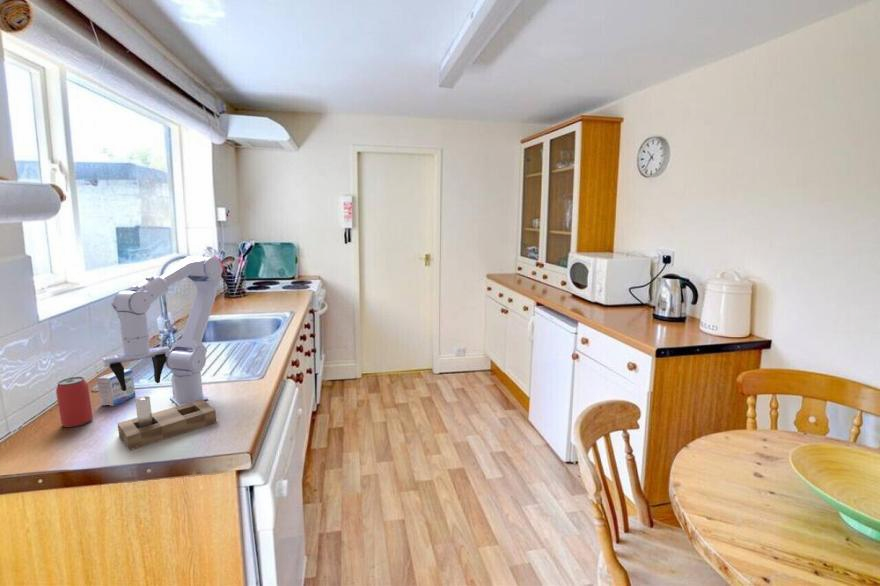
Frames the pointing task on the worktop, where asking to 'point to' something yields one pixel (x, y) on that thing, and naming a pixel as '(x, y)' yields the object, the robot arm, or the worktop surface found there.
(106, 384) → the medicine box
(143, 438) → the hole block
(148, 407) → the steel peg
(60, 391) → the beer can
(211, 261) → the robot arm
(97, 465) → the worktop surface
